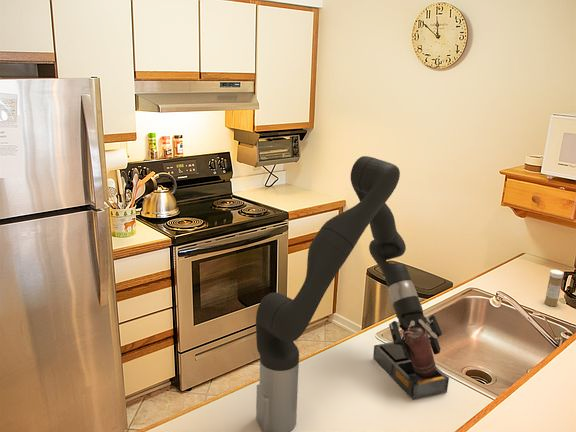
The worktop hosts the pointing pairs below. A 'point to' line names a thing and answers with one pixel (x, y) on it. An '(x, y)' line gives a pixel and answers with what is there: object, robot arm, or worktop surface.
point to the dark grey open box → (408, 372)
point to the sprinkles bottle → (554, 287)
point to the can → (420, 351)
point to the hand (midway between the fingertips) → (424, 356)
